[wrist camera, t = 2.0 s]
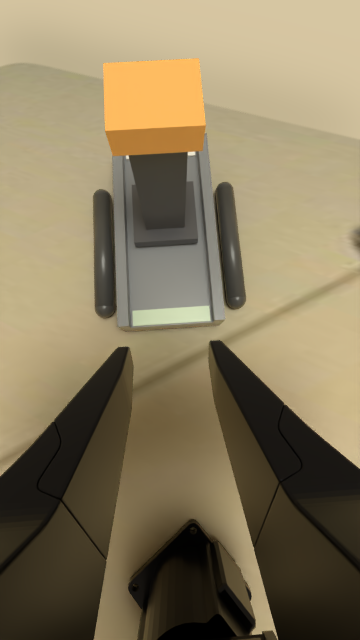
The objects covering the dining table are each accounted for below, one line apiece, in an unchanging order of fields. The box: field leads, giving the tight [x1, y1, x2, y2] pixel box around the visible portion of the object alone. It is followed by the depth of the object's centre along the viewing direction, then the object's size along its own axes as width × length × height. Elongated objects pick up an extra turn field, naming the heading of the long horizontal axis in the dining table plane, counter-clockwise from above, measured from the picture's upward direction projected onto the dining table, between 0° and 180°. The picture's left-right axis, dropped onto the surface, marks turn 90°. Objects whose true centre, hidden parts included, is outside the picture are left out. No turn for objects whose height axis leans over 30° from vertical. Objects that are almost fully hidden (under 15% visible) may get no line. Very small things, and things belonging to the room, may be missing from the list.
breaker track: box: [93, 133, 246, 332], centre depth 22 cm, size 16×13×3 cm
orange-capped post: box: [103, 58, 206, 247], centre depth 17 cm, size 5×5×10 cm
